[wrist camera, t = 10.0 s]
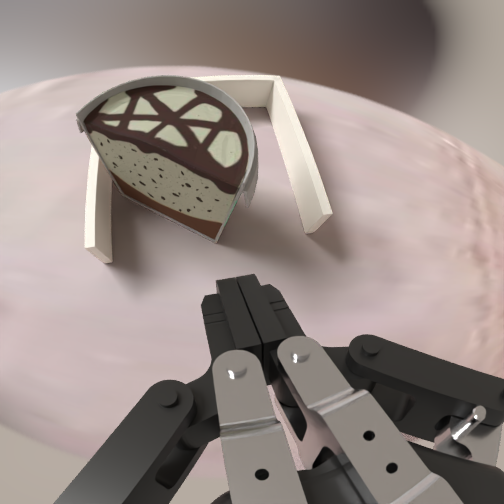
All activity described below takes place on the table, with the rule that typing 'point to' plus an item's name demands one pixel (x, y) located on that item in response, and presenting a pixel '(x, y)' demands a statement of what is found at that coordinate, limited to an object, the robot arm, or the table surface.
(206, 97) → the food container
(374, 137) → the table surface
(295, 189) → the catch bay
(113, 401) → the table surface
